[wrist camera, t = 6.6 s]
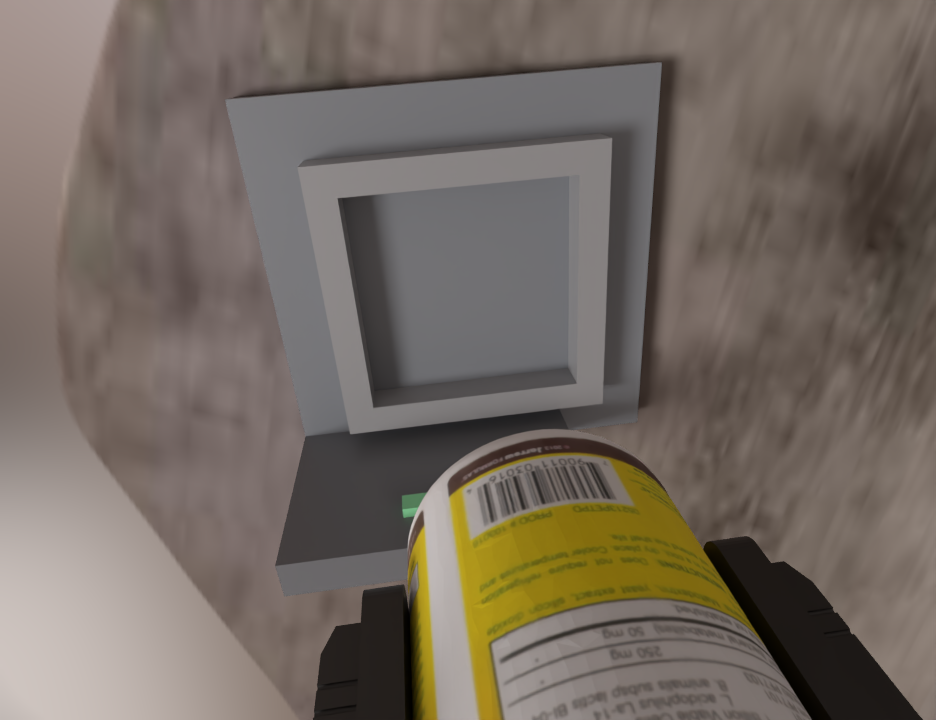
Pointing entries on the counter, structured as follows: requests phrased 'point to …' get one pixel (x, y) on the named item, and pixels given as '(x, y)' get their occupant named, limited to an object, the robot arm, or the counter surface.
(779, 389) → the counter surface
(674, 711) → the supplement bottle
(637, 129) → the charging dock
